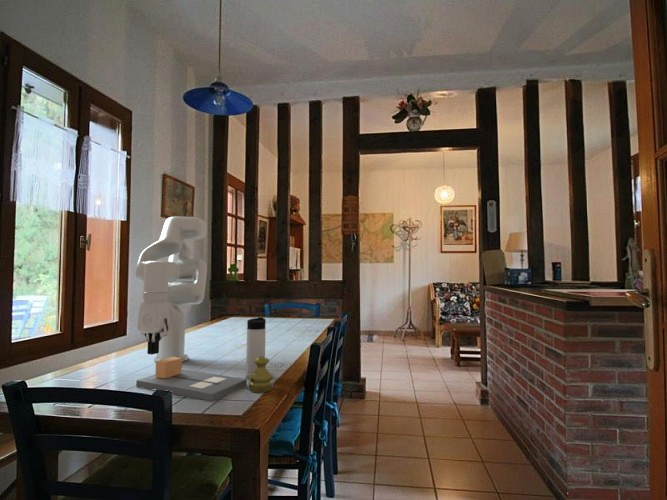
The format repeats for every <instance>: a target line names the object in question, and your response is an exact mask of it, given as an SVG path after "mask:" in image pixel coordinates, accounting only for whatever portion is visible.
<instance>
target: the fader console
mask: <svg viewBox="0 0 667 500" xmlns="http://www.w3.org/2000/svg"><path fill="white" fill-rule="evenodd" d="M155 375H156V373H155V374H153V375H152V374H151V375H149V376H146V377H142V378H140V379H136V380H135V381H136V384H135V386H139V387H138V388H140V387H144V388H143V389H146V388H149V389H148V390H151V389H156V390H168V391H172V393H173V394H172V395H177V396H183V397H188V398H193V399H198V400H204V401H208V402H214V401H217V400H218V399H221V398H223V397H225V396H227V395H229V394H232V393H234V392H236V391H238V390H240V389H243V388H245V387H247V385H248V379H247V378H242V377H234V376H228V375H222V374H215V373H210V372H209V373H208V372H203V371H197V370H192V369H191V370H189V369H185V368H182V373H181V374H178V375H175V376H172V377H168V378H165V379H163V378H158V377H155ZM156 390H155V391H156Z"/></svg>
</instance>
